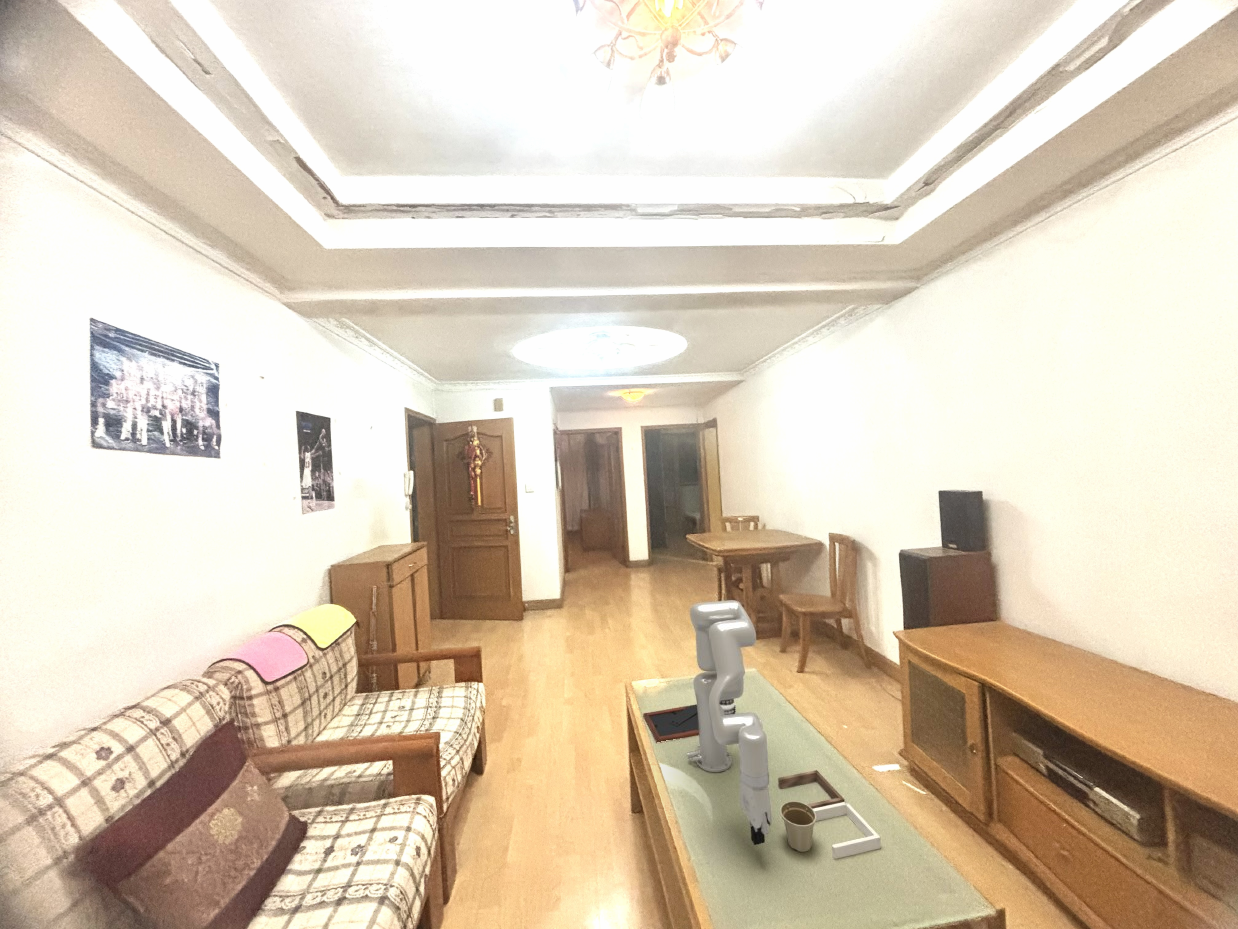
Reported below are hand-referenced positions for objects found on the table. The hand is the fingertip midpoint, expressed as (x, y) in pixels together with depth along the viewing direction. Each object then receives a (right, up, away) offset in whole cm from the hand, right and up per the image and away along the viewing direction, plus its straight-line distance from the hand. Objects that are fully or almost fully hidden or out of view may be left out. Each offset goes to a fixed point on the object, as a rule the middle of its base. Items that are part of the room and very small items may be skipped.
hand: (758, 841), depth 131 cm
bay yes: (+25, -2, +5) cm, 25 cm away
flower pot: (+12, -3, +2) cm, 13 cm away
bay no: (+22, -2, +20) cm, 30 cm away
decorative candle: (+5, -2, +64) cm, 64 cm away
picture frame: (-13, -4, +65) cm, 67 cm away
